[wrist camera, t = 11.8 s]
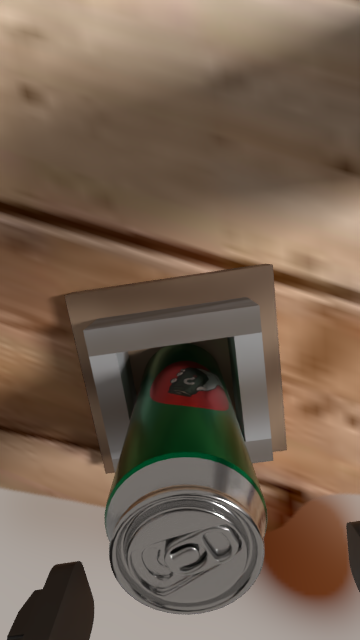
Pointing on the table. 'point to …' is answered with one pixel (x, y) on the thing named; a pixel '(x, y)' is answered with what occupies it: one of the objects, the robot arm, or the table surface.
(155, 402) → the soda can
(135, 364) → the grey hollow square frame
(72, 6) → the table surface
